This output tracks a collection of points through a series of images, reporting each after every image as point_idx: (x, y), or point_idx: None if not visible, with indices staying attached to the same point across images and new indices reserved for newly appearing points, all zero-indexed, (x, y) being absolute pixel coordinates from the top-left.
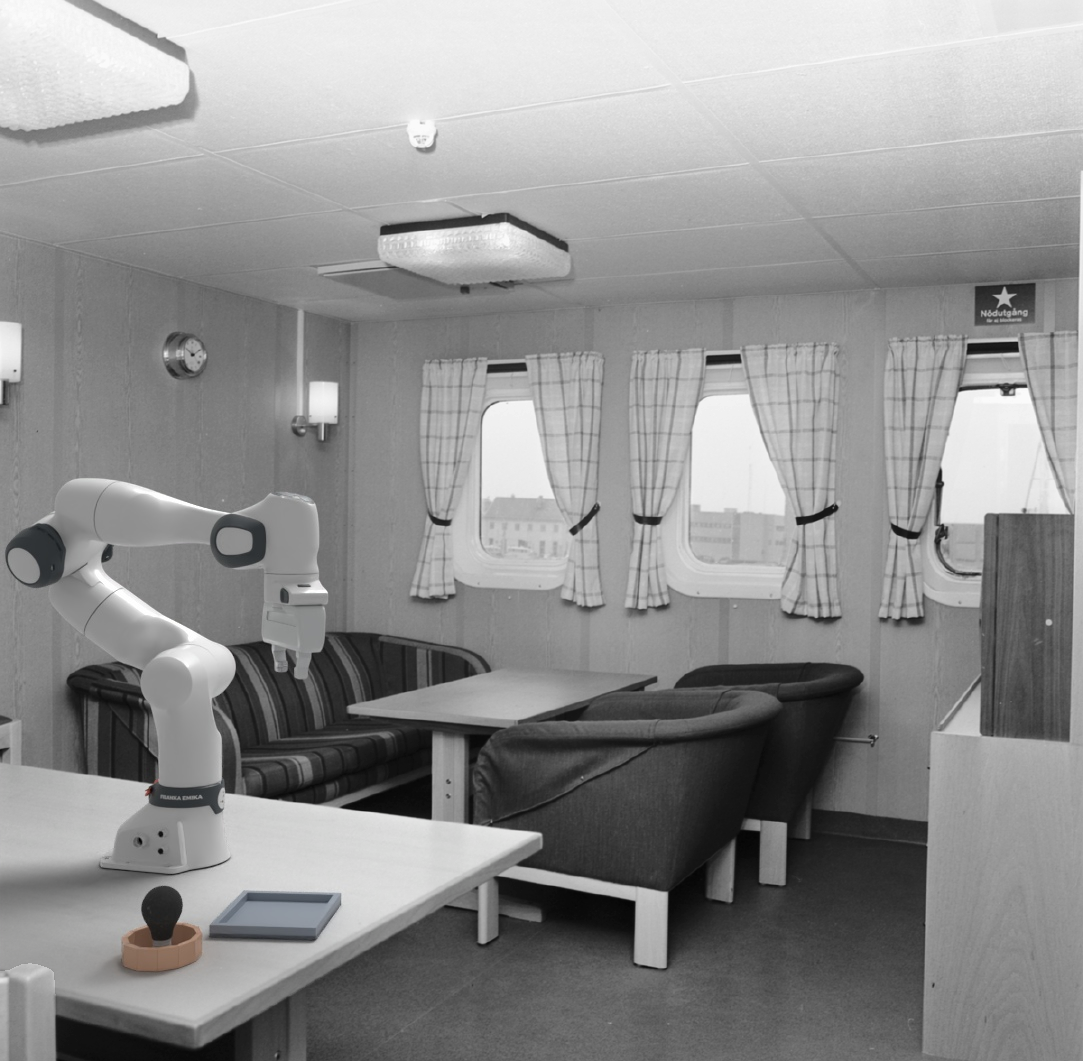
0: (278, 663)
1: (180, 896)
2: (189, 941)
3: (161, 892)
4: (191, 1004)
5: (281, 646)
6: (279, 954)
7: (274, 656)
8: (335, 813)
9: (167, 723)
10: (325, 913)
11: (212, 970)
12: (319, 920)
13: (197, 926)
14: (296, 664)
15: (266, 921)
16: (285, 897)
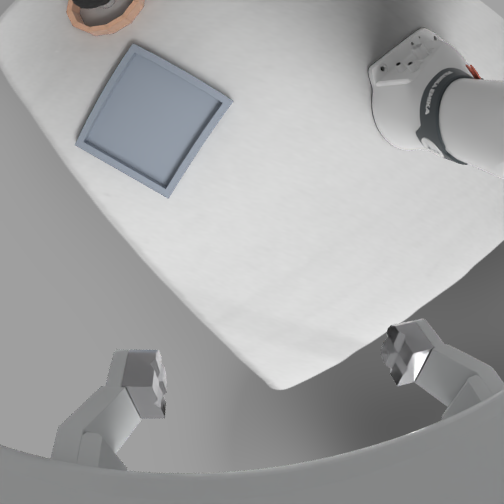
0: (407, 351)
1: (80, 3)
2: (72, 21)
3: None
4: (7, 32)
5: (328, 458)
6: (61, 104)
7: (454, 358)
8: (441, 282)
9: None
10: (110, 164)
11: (55, 44)
12: (93, 153)
13: (108, 28)
14: (109, 401)
15: (139, 104)
16: (196, 140)
